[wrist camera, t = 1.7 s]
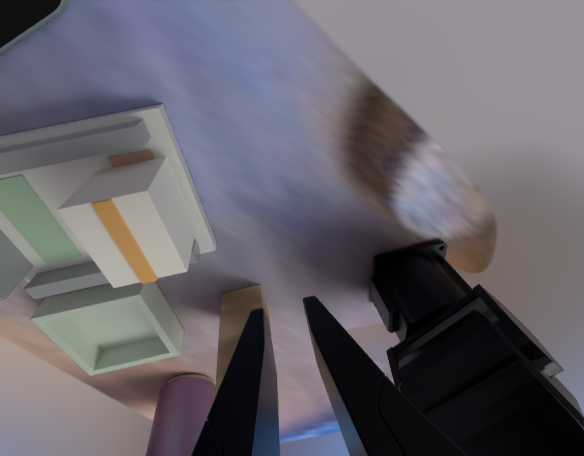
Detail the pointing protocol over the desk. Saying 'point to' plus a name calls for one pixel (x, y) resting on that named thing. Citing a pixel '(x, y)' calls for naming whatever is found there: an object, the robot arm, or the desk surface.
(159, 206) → the breaker
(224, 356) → the tan rectangular block
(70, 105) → the desk surface
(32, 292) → the panel
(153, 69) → the desk surface
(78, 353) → the holder
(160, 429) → the beverage can
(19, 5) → the smartphone
